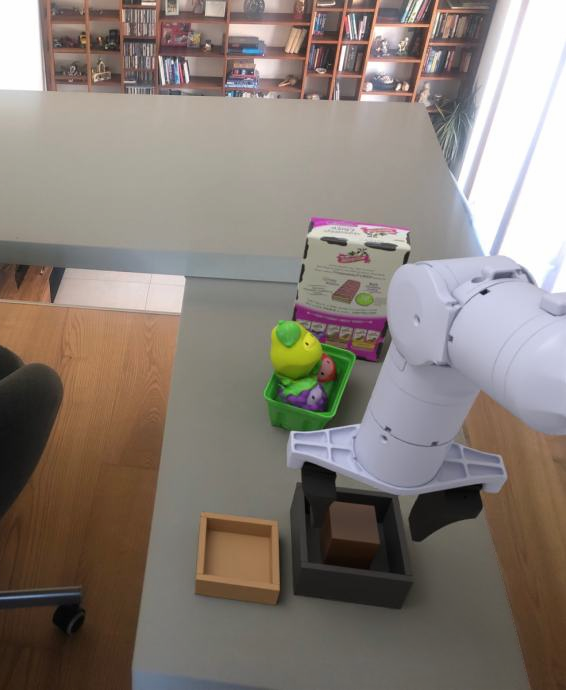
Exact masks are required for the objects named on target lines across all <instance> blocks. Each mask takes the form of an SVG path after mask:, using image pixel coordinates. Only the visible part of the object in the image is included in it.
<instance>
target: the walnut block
mask: <svg viewBox="0 0 566 690" xmlns="http://www.w3.org/2000/svg"><path fill="white" fill-rule="evenodd" d="M319 538H320V551H321V564H324V565H332V566H339V567H347V568H355V569H362V570H369V569H370V567H371V564H372V562H373V560H374V557H375V555H376V552H377V550H378V547H379V545H380V540H379V534H378V527H377V521H376V514H375V508H374V506H369V505H361V504H352V503H344V502H336V501H334V502H333V503H332V504H331V506H330V507H329V509H328V510H327V512H326V515H325V519H324V523H323V525H322V527H321V528H320V531H319Z"/></svg>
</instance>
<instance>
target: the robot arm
mask: <svg viewBox="0 0 566 690" xmlns="http://www.w3.org/2000/svg"><path fill="white" fill-rule="evenodd" d="M387 320H388V330H389V334H390V336H391V342H390V344H389V347H388V350H387V351H386V352H387V353H386V355H385V358H384V360H383V363H382V366H381V367H380V370H379V374H378V376H377V379H376V382H375V385H374V388H373V389H372V393H371V395H370V398H369V400H368V403H367V406H366V409H365V412H364V414H363V417H362V420H361V421H360V423H356V424H355V423H354V424H349V425H344V426H338V427H331V428H325V429H324V428H323V429H322V430H318V431H309V432H300V431H290V432H289V437H288V441H287V443H286V466H287V468H288V469H296V470H300V478H301V481H300V482H301V483H302V489H303V493H304V496H305V497H306V498H307V500H308V501H309V503H310V518H311V527H312V528H318V529H320V528H321V527H322V525H323V523H324V519H325V515H326V512H327V510H328V509H329V507H330V506H331V504H332V503H333V502H334V501H336V500H337V494H336V487H337V484H336V480H337V477H338V476H337V474H339V475H341V476H344V477H346V478H349V479H352V480H354V481H357V482H359V483H362V484H364V485H367V486H369V487H371V488H374V489H376V490H379V491H380V492H387V493H390V494H395V495H398V496H403V497H404V496H406V497H407V496H416V495H418V496H417V498H416V499H415V501H414V503H413V505H412V507H411V509H410V512H409V515H408V519H407V520H408V525H409V533H410V538H411V541H412V542H416V543H421V542H423V541H424V540H425V539H427V538H428V537H430V536H431V535H433V534H434V533H436V532H438V531H440V530H441V529H443V528H445V527H446V526H449V525H451V524H454V523H458V522H461V521H467V520H473V519H477V518H478V517H479V515H480V514H481V512H482V511H483V509H484V503H483V499H482V495H481V491H483V492H485V493H491V494H499V492H500V491H501V489H502V488H503V486H504V485H505V483H506V481H507V480H508V473H507V471H506V467H505V463H504V460H503V456H502V455H501V454H495V453H489V452H485V451H482V450H478V449H474V448H471V447H468V446H465V445H463V444H461V443H457V442H455V440H456V438H457V436H458V434H459V432H460V430H461V429H462V426H463V424H464V423H465V420H466V418H467V416H469V413H470V411H471V410H472V407H473V405H474V404H475V401H476V399H477V398H478V396H479V394H480V392H481V391H482V392H483V393H485V394H486V395H487V396H488V397H490V398H491V399H492V400H493V401H495V402H496V403H497V404H499V406H501V407H502V408H504V409H505V410H506V411H508V412H509V413H510V414H512V415H513V416H514V417H515V418H516V419H518V420H519V421H521V422H522V423H523V424H524V425H525V426H527V427H528V428H529V429H530V430H533V431H535V432H538V433H540V434H544V435H548V436H566V291H563V292H549V291H547V290H545V289H543V288H541V287H539V285H538V282H537V280H536V278H535V277H534V275H533V274H532V273H531V271H529V269H528V268H527V267H526V266H523V265H522V264H520V263H518V262H516V260H514V259H512V258H511V257H508V256H506V255H503V254H496V255H494V254H493V255H483V256H482V255H481V256H470V257H457V258H456V257H455V258H446V259H445V258H444V259H432V260H421V261H417V262H414V263H407V264H405V265H402V266H401V267H400V268H398V270H397V271H396V272H395V273H394V275H393V277H392V279H391V282H390V285H389V289H388V294H387Z"/></svg>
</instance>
